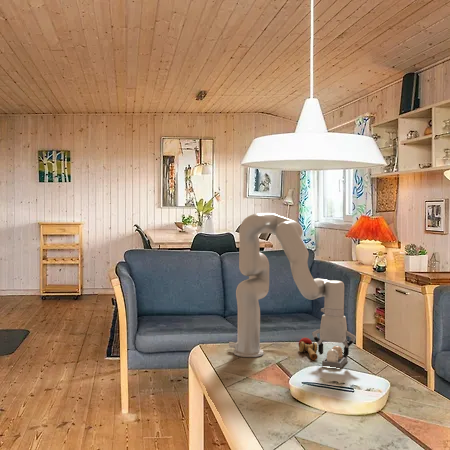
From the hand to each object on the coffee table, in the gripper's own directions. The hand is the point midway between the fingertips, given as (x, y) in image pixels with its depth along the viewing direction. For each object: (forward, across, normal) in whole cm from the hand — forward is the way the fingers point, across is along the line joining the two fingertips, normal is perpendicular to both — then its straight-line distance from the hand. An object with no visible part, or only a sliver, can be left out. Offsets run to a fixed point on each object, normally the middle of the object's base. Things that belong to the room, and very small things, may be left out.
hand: (333, 355), depth 239 cm
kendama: (+5, -13, +13) cm, 19 cm away
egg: (+4, 0, 0) cm, 4 cm away
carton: (+4, 0, +3) cm, 5 cm away
